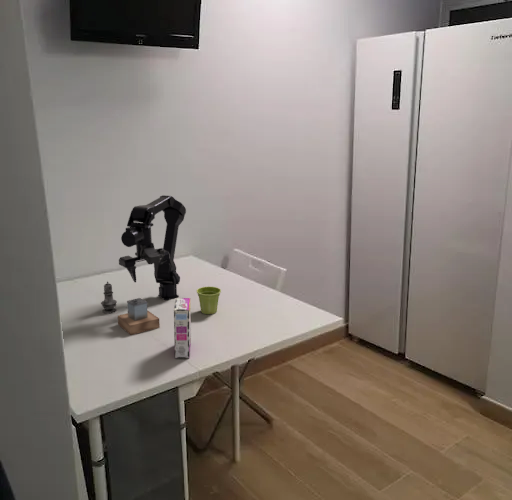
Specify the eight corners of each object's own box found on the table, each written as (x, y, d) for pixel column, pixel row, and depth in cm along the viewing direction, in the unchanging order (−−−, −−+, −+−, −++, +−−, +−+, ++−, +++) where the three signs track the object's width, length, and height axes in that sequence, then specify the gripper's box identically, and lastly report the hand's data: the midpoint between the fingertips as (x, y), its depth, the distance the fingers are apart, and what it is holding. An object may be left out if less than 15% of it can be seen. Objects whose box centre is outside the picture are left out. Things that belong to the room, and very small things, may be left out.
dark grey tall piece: (113, 314, 198) (111, 284, 195) (98, 313, 199) (96, 283, 196) (120, 308, 203) (118, 279, 200) (106, 307, 205) (104, 278, 201)
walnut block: (146, 319, 195) (145, 309, 194) (159, 328, 187) (159, 318, 186) (118, 325, 189) (117, 315, 188) (130, 336, 180) (130, 325, 179)
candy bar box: (190, 358, 164) (189, 309, 159) (174, 359, 163) (172, 310, 159) (191, 343, 175) (190, 297, 170) (176, 343, 174) (175, 297, 170)
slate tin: (140, 313, 190) (139, 297, 189) (148, 317, 186) (147, 301, 185) (127, 316, 187) (126, 301, 185) (134, 321, 183) (134, 305, 181)
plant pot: (225, 309, 204) (225, 288, 202) (213, 317, 196) (213, 296, 194) (204, 305, 208) (204, 285, 206) (192, 313, 200) (191, 292, 197)
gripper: (130, 249, 183) (133, 290, 187) (176, 240, 194) (178, 279, 199) (116, 242, 191) (119, 282, 195) (161, 234, 202) (163, 272, 207)
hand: (146, 279), depth 199 cm, fingers open, 9 cm apart
